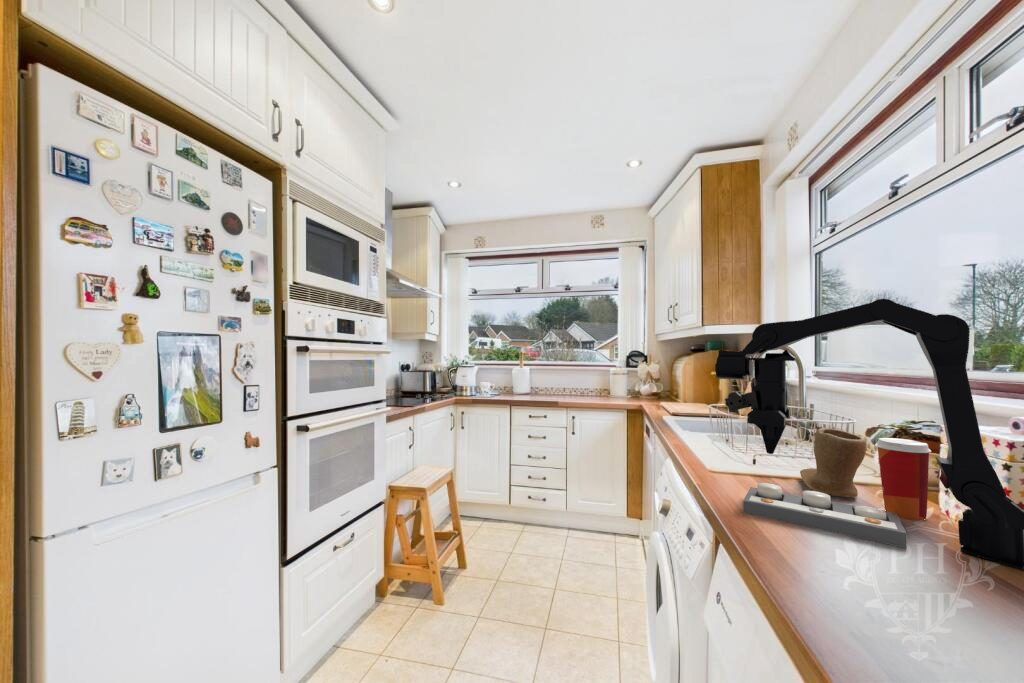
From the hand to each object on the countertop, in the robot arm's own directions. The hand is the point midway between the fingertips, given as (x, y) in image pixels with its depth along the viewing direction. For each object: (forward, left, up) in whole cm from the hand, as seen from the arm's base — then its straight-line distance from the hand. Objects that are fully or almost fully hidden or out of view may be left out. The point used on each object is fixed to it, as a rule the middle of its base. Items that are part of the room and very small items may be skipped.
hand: (770, 453), depth 84 cm
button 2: (-14, -6, -10) cm, 19 cm away
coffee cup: (-15, -21, -12) cm, 28 cm away
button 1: (0, 0, -9) cm, 9 cm away
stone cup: (-1, -25, -12) cm, 27 cm away
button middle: (-7, -3, -9) cm, 12 cm away
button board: (-8, -2, -12) cm, 14 cm away
